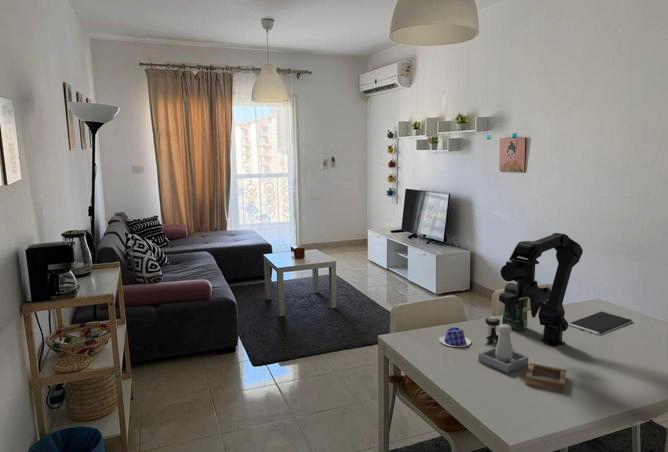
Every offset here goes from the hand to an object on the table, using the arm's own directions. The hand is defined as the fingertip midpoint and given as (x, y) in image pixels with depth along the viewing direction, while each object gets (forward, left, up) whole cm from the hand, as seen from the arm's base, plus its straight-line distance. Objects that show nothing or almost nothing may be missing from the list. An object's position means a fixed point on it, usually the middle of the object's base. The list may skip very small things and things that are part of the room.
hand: (523, 319), depth 166 cm
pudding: (+16, -18, -14) cm, 28 cm away
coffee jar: (-16, -21, -13) cm, 30 cm away
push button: (+4, -12, -13) cm, 18 cm away
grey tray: (+12, +4, -13) cm, 18 cm away
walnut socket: (+8, +19, -13) cm, 24 cm away
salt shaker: (+12, +4, -12) cm, 18 cm away
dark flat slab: (-52, -10, -14) cm, 55 cm away
